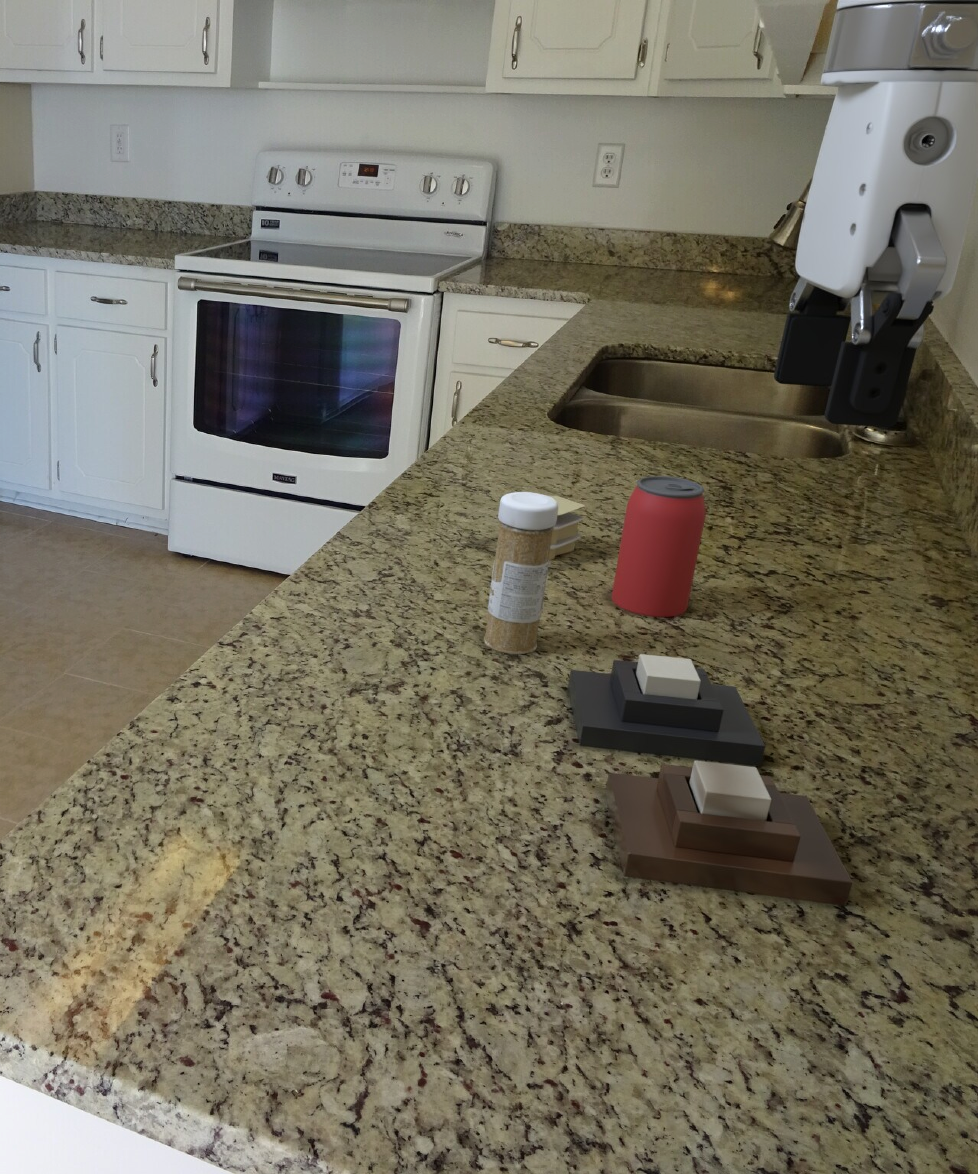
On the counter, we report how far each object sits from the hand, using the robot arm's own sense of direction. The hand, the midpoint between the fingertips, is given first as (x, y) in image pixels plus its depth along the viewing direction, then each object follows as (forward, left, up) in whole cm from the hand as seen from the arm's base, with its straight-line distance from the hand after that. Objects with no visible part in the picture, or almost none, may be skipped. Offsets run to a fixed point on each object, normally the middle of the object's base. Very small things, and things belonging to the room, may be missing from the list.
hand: (828, 402), depth 60 cm
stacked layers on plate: (+8, -48, -28) cm, 56 cm away
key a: (+1, +3, -24) cm, 24 cm away
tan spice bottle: (+12, -24, -28) cm, 39 cm away
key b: (+2, -12, -24) cm, 27 cm away
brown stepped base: (+1, +3, -28) cm, 28 cm away
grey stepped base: (+2, -12, -28) cm, 30 cm away
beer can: (-1, -36, -28) cm, 45 cm away
